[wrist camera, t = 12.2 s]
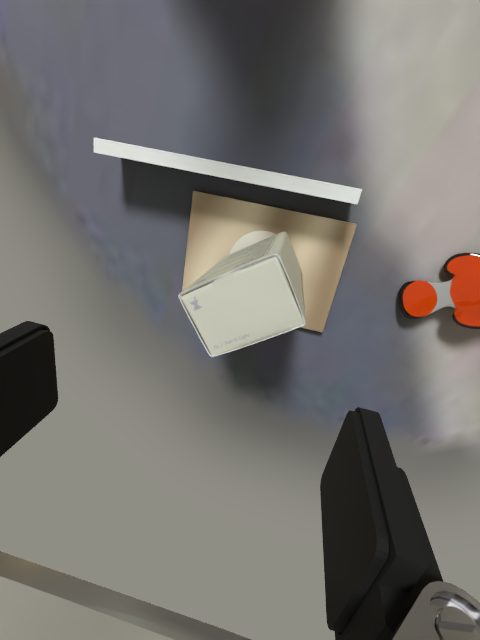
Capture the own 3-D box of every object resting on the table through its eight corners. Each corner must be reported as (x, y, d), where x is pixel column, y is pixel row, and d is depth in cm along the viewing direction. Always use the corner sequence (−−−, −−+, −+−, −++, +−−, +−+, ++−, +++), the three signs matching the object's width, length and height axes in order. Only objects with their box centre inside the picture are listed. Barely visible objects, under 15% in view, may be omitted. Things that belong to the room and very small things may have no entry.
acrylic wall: (353, 189, 26) (362, 189, 22) (349, 202, 26) (357, 204, 22) (121, 144, 27) (93, 137, 24) (121, 157, 28) (93, 152, 24)
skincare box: (242, 298, 30) (207, 362, 19) (222, 255, 29) (172, 295, 18) (306, 274, 28) (308, 328, 17) (287, 226, 27) (277, 251, 16)
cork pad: (355, 223, 26) (357, 224, 26) (322, 330, 31) (322, 332, 30) (195, 190, 28) (192, 190, 27) (183, 297, 32) (180, 299, 31)
